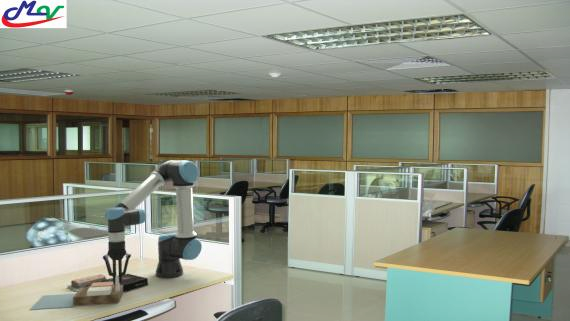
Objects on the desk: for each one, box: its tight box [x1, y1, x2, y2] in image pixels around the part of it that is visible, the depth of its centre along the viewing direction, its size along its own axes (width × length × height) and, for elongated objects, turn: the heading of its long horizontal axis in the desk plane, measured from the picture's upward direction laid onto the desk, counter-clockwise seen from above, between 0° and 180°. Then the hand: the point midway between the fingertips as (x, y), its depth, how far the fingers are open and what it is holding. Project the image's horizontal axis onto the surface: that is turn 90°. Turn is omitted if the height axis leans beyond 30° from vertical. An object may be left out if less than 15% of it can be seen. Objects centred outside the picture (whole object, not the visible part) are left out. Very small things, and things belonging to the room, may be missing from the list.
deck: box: [73, 285, 124, 307], centre depth 235 cm, size 20×15×4 cm
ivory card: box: [87, 286, 112, 296], centre depth 231 cm, size 10×6×2 cm, turn 100°
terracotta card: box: [90, 282, 114, 289], centre depth 239 cm, size 10×6×2 cm, turn 100°
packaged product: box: [66, 273, 107, 293], centre depth 257 cm, size 18×5×10 cm
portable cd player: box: [101, 273, 149, 294], centre depth 256 cm, size 16×17×4 cm
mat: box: [29, 293, 76, 311], centre depth 232 cm, size 18×20×1 cm
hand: (117, 289), depth 232 cm, fingers closed
